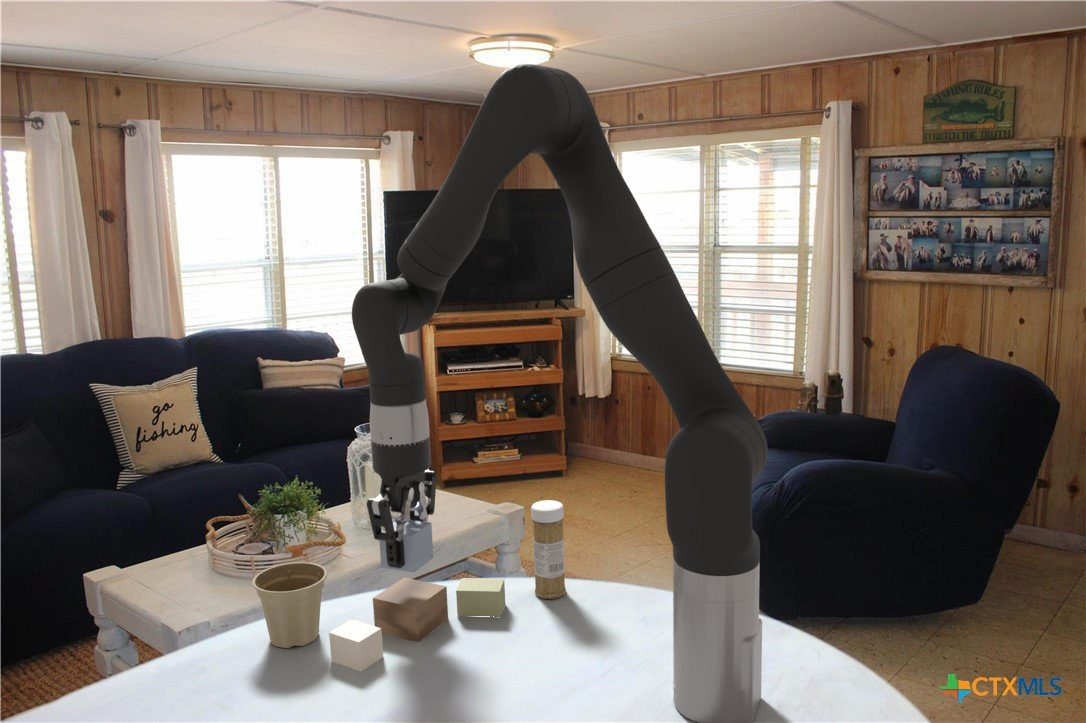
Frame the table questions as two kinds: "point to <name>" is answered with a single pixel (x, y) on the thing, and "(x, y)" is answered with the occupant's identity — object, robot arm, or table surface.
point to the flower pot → (291, 601)
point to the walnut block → (410, 609)
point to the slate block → (412, 546)
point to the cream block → (356, 645)
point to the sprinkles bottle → (548, 549)
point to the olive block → (480, 597)
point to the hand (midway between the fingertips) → (407, 557)
